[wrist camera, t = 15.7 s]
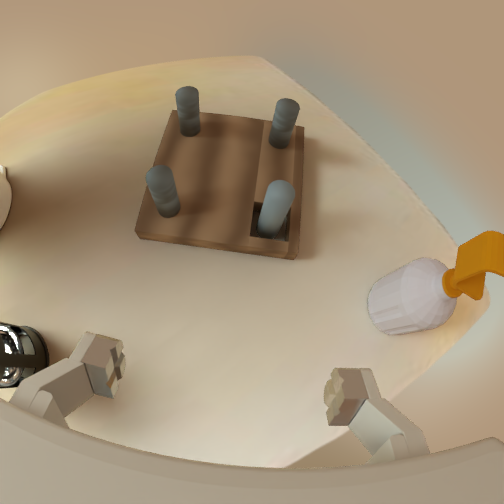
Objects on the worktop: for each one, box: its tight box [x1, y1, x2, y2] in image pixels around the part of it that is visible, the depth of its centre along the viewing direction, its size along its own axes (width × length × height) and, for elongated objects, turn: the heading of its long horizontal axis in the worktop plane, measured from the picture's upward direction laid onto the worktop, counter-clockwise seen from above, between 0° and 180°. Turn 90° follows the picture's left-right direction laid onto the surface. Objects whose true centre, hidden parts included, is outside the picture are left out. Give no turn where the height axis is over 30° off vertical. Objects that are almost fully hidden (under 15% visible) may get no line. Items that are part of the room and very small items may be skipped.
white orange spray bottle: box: [368, 231, 504, 335], centre depth 31 cm, size 9×9×25 cm
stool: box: [135, 86, 304, 260], centre depth 42 cm, size 22×22×11 cm
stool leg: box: [256, 180, 295, 239], centre depth 40 cm, size 3×3×11 cm
